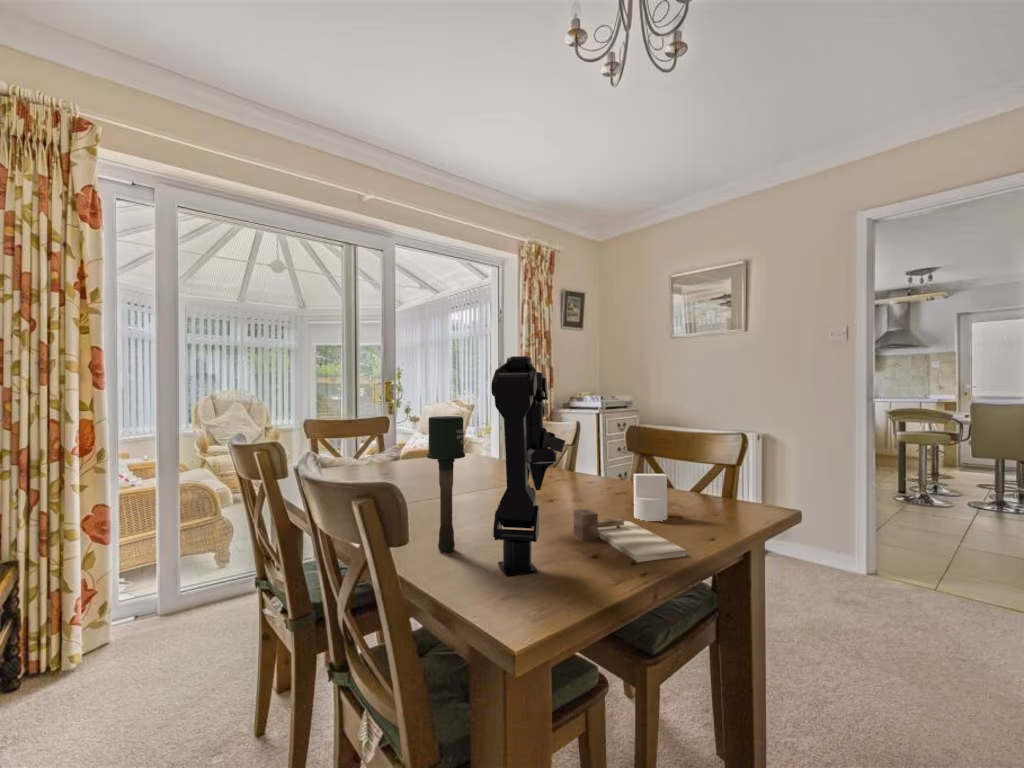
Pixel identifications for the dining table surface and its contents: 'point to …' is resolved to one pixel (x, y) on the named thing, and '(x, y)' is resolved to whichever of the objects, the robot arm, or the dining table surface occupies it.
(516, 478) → the robot arm
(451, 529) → the stick grenade
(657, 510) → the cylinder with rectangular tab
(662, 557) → the birch board
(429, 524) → the dining table surface
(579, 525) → the marking gauge
